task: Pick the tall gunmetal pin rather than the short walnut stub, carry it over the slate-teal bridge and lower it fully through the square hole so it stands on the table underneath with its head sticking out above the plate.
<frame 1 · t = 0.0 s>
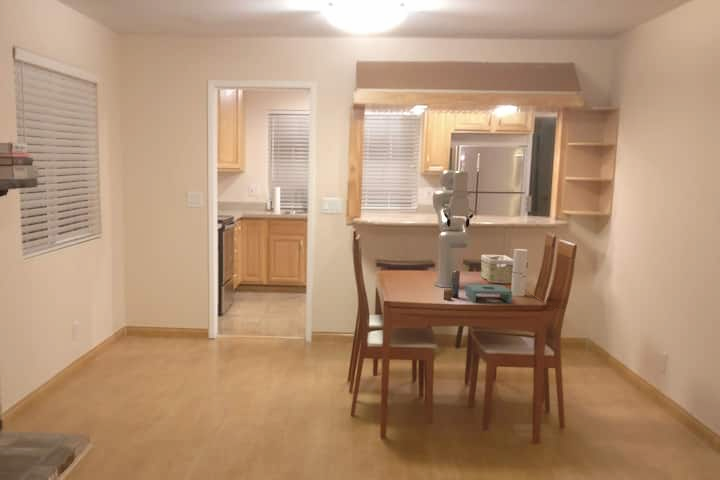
hand: (457, 226, 297), 37 cm above the table, tool pointing down, fingers open, 9 cm apart
bridge: (487, 299, 294), on the table
storage basket: (496, 280, 349), on the table
long pin: (454, 297, 296), on the table
cylindrical container: (517, 295, 307), on the table
short pin: (447, 299, 290), on the table
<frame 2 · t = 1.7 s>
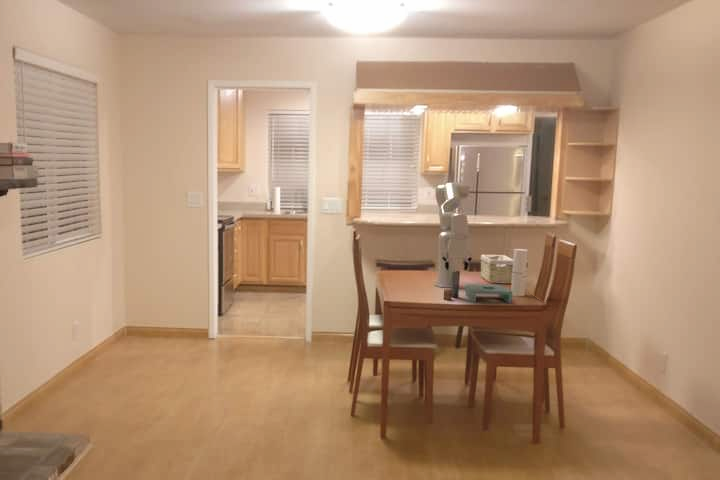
hand: (456, 269, 293), 15 cm above the table, tool pointing down, fingers open, 9 cm apart
nothing on the table moved.
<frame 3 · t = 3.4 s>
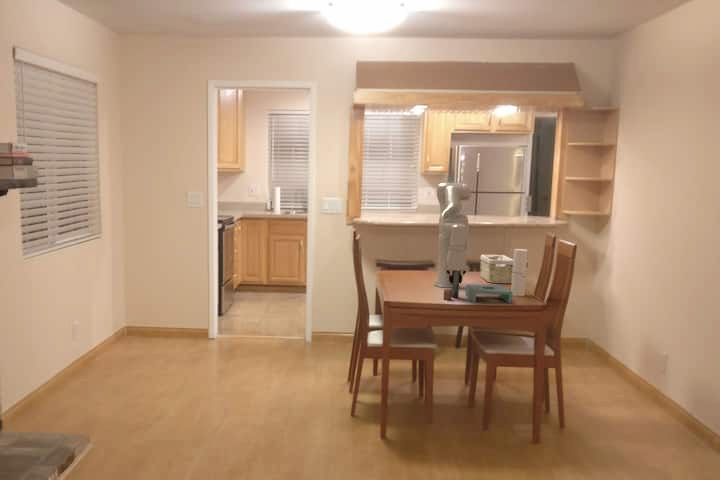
hand: (455, 282, 295), 8 cm above the table, tool pointing down, fingers closed on long pin, 4 cm apart
long pin: (454, 297, 296), on the table, touching gripper
everything else where it was.
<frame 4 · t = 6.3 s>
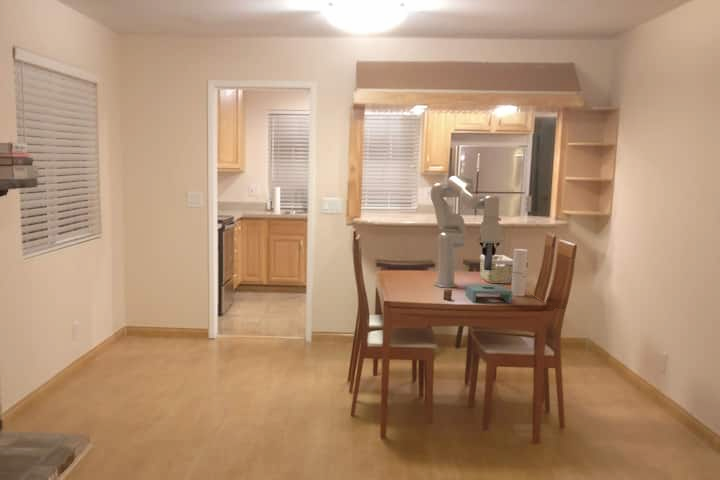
hand: (488, 254, 291), 24 cm above the table, tool pointing down, fingers closed on long pin, 4 cm apart
long pin: (487, 269, 292), point 16 cm above the table, touching gripper
everything else where it was.
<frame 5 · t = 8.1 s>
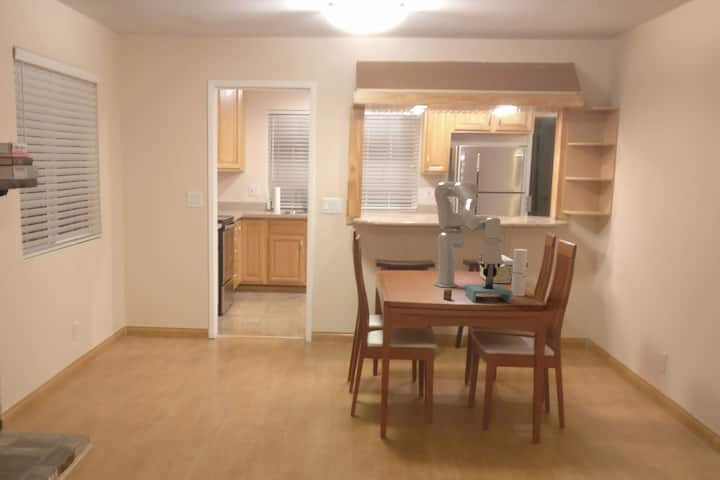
hand: (489, 275, 292), 12 cm above the table, tool pointing down, fingers closed on long pin, 4 cm apart
long pin: (488, 290, 293), point 5 cm above the table, touching gripper
everything else where it was.
when the fingers open (9 cm above the table, at t = 9.4 s): long pin drops 1 cm, on the table.
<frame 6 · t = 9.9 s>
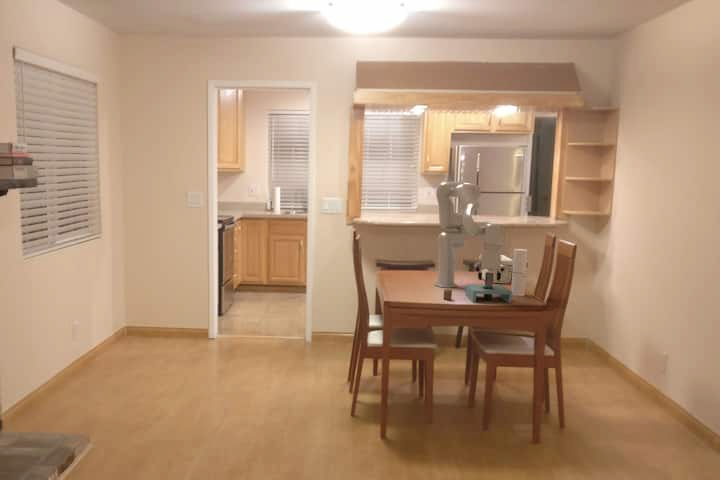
hand: (489, 280, 292), 10 cm above the table, tool pointing down, fingers open, 9 cm apart
long pin: (487, 299, 294), on the table
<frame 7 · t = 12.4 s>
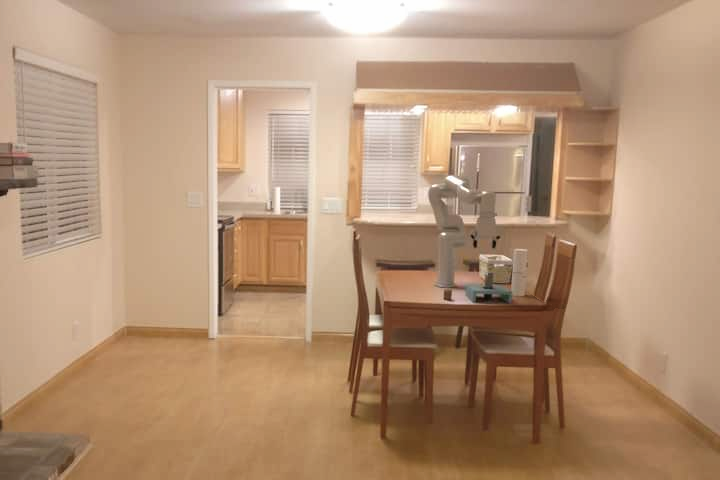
hand: (484, 248, 293), 27 cm above the table, tool pointing down, fingers open, 9 cm apart
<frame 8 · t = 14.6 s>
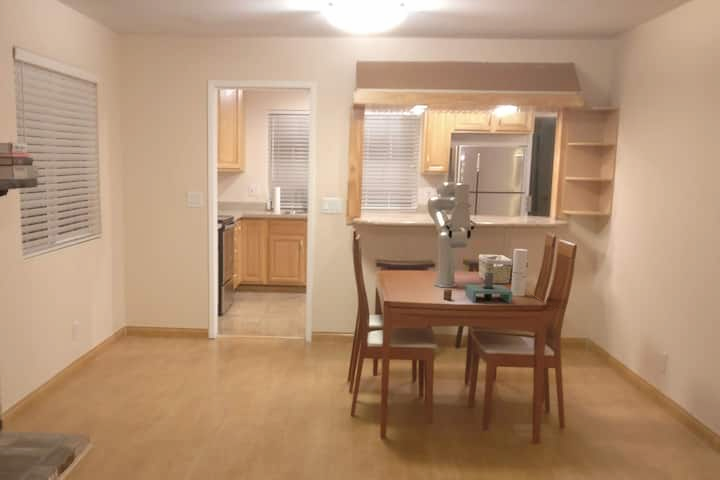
hand: (459, 238, 302), 30 cm above the table, tool pointing down, fingers open, 9 cm apart
at the end: long pin 0.1 cm off-centre on the bridge, point 0.0 cm above the bridge's base; long pin tilted 0°; short pin moved 0.1 cm from its start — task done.
